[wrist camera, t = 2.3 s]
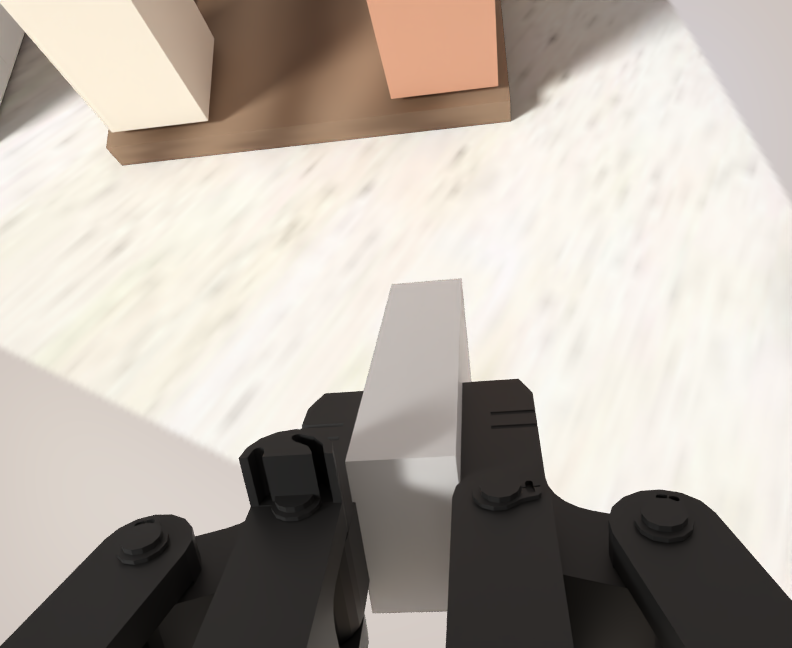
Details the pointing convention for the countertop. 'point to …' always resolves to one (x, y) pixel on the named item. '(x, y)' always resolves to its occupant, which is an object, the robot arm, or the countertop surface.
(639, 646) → the robot arm
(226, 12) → the walnut track board
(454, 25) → the tall salmon pillar
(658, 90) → the countertop surface
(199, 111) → the tall white pillar
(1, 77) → the supplement box
